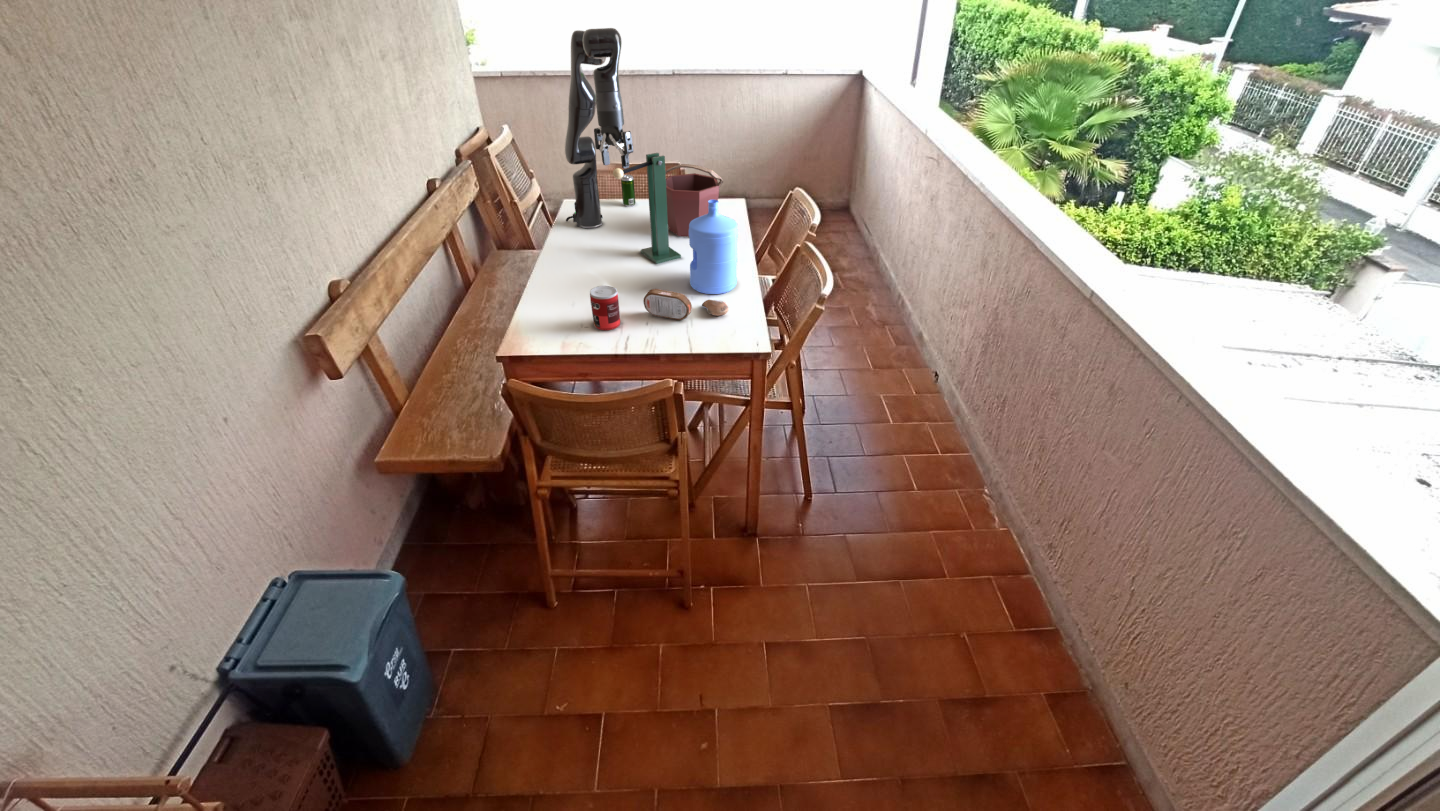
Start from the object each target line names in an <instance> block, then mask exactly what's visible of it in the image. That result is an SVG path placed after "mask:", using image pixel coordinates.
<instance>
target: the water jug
mask: <svg viewBox="0 0 1440 811" xmlns="http://www.w3.org/2000/svg"><path fill="white" fill-rule="evenodd" d="M708 203H709V206H708V214H706V215H703V216H700V217H698V218H695V219H693V220H692V221H691V222H690V224H689V237H688V238H689V240H688V241H689V242H688V243H689V247H690V248H691V249H692V260H691V262H690V264H689V284H690V287H691V288H692V289H693V290H695V291H696V292H699V293H701V294H707V295H719V294H725V293H728V292H731V291H732V290H734V289H735V288H736V286H737V284H738V277H737V274H738V273H737V270H738V238H739V237H738V236H739V229H738V223H737V221H736V220H735V219H733V218H731V217H728V216H726V215H724V214H720V213H719V199H718V200H709V201H708Z"/></svg>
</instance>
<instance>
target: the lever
mask: <svg viewBox="0 0 1440 811" xmlns="http://www.w3.org/2000/svg"><path fill="white" fill-rule="evenodd" d="M654 157H657V156H654ZM649 165H652V157H651V158H650V161H647V162H646V161H645V162H641V163H639V164H636V165H632V166H629V168H625V169H624V168H620V167H616V168H614V169H613V171H612V175H613V177H614V179H616V180H621V178H622V177H623V175H626V174H628V173H631V172H634V171H637V170H639V169H643V168H647V166H649Z"/></svg>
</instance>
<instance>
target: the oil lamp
mask: <svg viewBox="0 0 1440 811" xmlns="http://www.w3.org/2000/svg"><path fill="white" fill-rule="evenodd" d="M701 306H702V307H703V308H706V309H707V311H706V313H707V314H709V315H712V316H716V317H721V316H724V315H726V314H727V313H728V312H729V305H728V304H727V303H726V302H725V301H724V300H717V299H707V300H705V301H703V302H702V304H701Z"/></svg>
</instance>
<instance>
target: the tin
mask: <svg viewBox="0 0 1440 811" xmlns="http://www.w3.org/2000/svg"><path fill="white" fill-rule="evenodd" d="M642 302H643V306H644V309H645V310H646V312H648V313H649V314H650V315H652V316H653V317H659V318H665V319H669V320H675V321H683V320H685V319H686V318H687V317H688V316H689V315H690V314H691V312H692V309H693V306H692V302H691V300H690V299H689V297H688V296H686V295H685V294H683V293H681V292H676V291H670V290H667V289H666V290H665V289H659V288H652V289H649V290H648V291H647V292H646V294H645V295H644V297H643V300H642Z"/></svg>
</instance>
